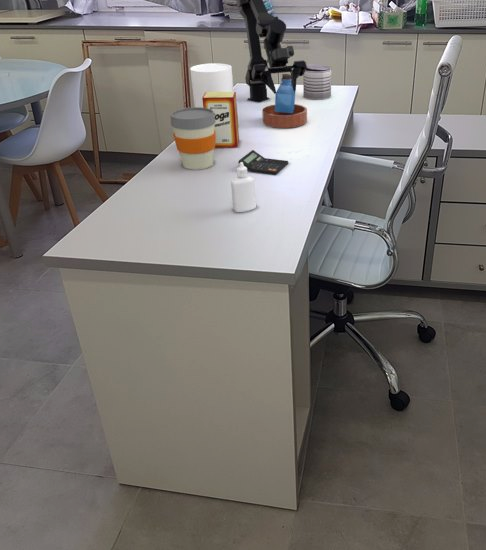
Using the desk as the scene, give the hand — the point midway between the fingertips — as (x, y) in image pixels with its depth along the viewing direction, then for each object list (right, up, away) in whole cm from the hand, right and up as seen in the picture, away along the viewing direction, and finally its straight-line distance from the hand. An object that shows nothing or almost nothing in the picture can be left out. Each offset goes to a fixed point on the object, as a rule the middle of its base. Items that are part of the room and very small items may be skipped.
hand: (285, 92), depth 196 cm
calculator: (-5, -32, -31) cm, 44 cm away
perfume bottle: (0, -5, +5) cm, 7 cm away
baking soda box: (-19, -21, -13) cm, 31 cm away
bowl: (0, -9, +7) cm, 11 cm away
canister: (-24, -12, +3) cm, 27 cm away
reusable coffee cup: (-25, -30, -28) cm, 48 cm away
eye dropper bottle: (-8, -47, -55) cm, 73 cm away
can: (+12, +10, +37) cm, 40 cm away
